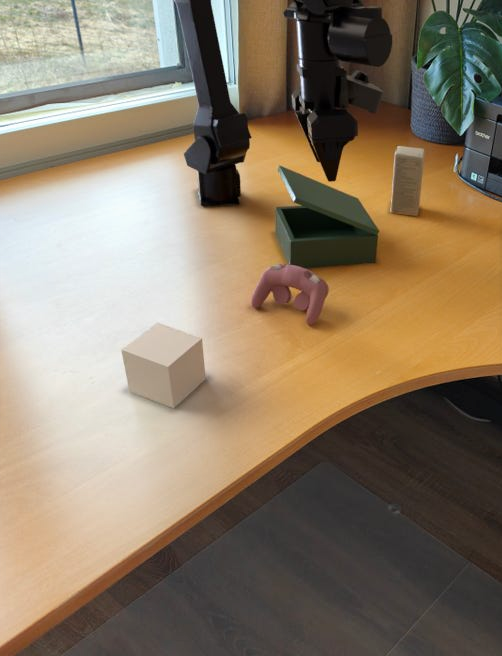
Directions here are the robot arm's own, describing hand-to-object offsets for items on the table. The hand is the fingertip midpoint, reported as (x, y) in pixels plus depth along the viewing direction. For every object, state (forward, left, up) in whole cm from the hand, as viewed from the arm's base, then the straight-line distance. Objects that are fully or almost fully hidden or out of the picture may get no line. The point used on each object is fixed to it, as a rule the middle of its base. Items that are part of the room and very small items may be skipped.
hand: (325, 171), depth 98 cm
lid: (0, 0, -5) cm, 5 cm away
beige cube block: (-26, -29, -13) cm, 41 cm away
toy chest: (0, 0, -13) cm, 13 cm away
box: (+18, +12, -13) cm, 26 cm away
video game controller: (-9, -16, -13) cm, 22 cm away
